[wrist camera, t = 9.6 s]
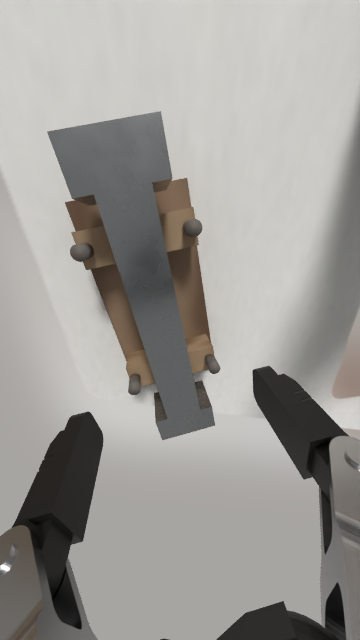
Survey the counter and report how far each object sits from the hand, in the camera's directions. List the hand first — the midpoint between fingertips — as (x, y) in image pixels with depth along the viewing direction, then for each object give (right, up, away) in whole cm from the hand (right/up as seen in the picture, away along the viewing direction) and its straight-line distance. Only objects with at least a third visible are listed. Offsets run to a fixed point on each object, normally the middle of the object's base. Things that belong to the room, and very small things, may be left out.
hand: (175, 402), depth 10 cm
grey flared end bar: (-2, +5, +10) cm, 11 cm away
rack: (-3, +6, +14) cm, 16 cm away
